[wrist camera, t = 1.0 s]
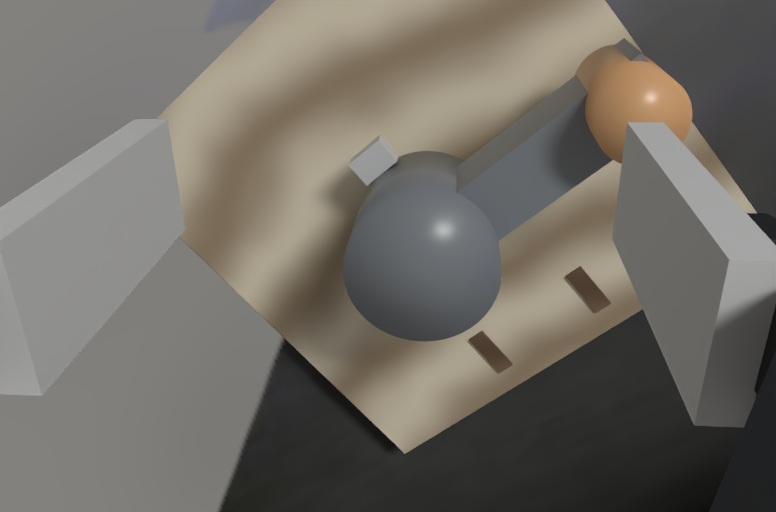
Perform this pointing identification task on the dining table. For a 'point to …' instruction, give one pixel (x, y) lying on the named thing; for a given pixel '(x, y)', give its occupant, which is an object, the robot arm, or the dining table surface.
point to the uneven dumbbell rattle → (489, 195)
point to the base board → (405, 135)
